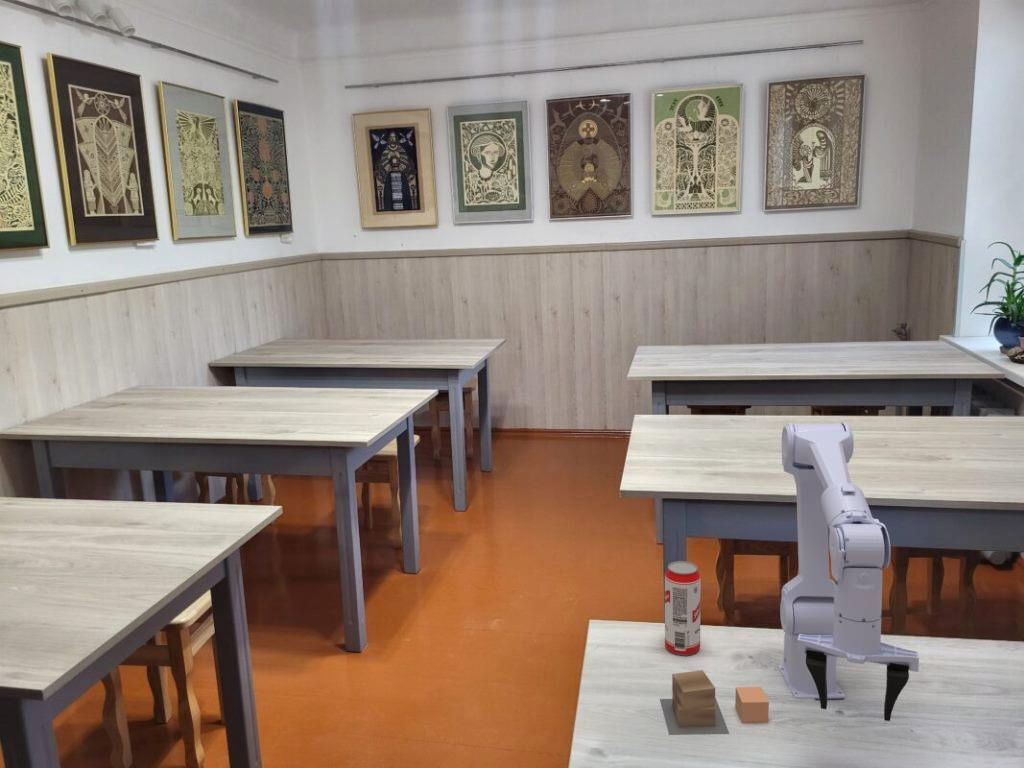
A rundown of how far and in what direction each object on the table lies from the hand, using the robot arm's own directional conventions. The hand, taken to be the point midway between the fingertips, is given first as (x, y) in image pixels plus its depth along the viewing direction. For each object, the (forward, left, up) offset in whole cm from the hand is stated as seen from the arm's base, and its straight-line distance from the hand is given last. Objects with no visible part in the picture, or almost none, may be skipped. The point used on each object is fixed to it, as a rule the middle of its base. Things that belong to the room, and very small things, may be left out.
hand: (855, 711), depth 104 cm
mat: (-15, -18, -11) cm, 26 cm away
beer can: (-35, -16, -11) cm, 40 cm away
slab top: (-15, -18, -8) cm, 25 cm away
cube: (-15, -9, -11) cm, 21 cm away
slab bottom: (-15, -18, -11) cm, 26 cm away
